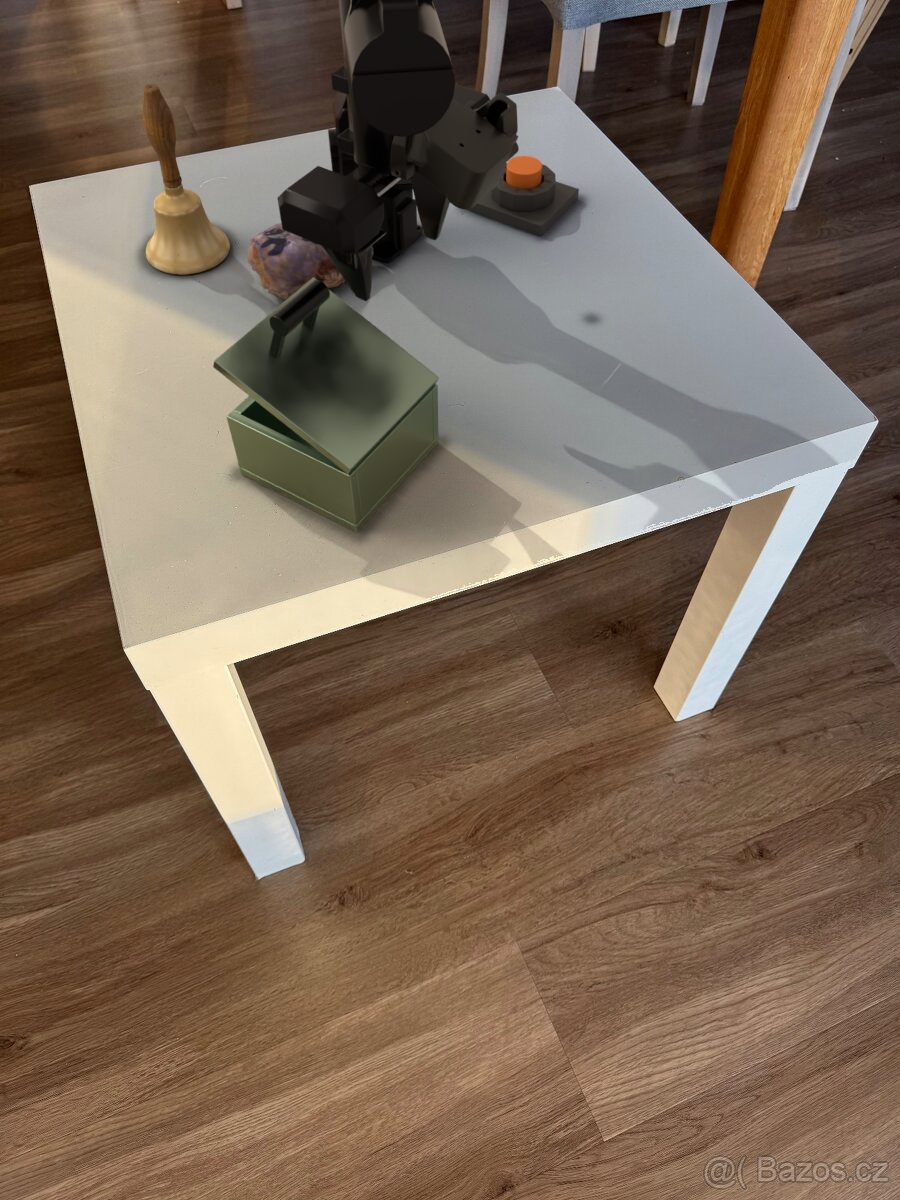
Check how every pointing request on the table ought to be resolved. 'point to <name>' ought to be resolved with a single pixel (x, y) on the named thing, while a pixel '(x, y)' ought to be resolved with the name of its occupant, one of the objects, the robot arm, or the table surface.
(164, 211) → the hand bell
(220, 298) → the table surface
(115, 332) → the table surface
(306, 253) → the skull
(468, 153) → the robot arm
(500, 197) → the control block
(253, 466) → the green box
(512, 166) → the button
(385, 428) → the box lid
